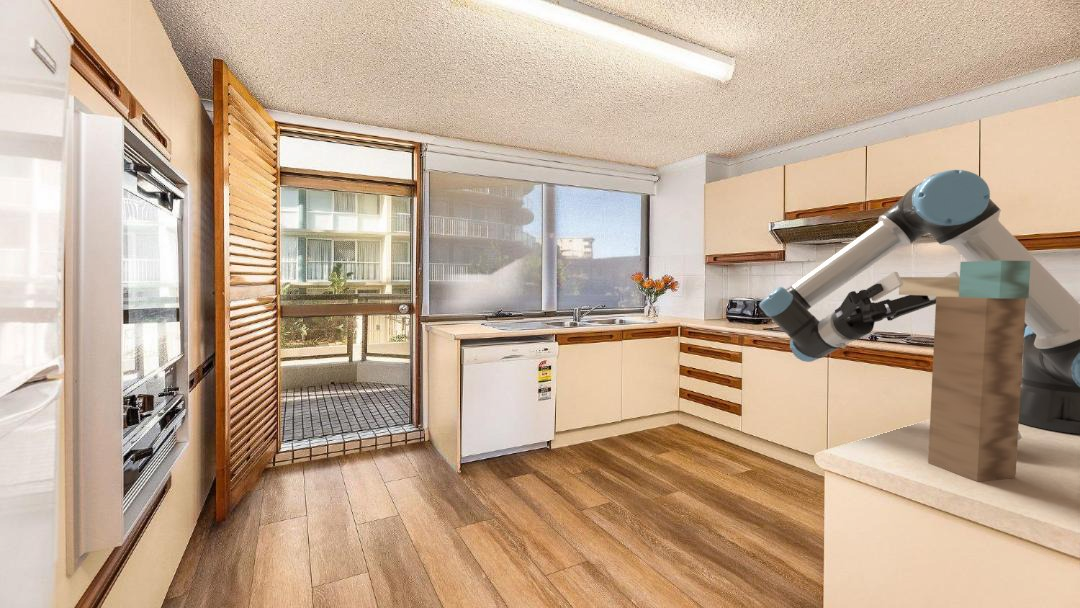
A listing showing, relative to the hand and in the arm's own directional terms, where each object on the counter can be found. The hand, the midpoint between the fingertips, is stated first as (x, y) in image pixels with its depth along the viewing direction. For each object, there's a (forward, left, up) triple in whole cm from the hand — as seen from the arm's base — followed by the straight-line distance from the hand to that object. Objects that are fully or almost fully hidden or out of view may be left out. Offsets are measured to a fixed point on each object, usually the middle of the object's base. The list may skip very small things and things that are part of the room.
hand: (929, 278), depth 89 cm
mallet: (0, +5, -3) cm, 6 cm away
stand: (0, +9, -33) cm, 34 cm away
